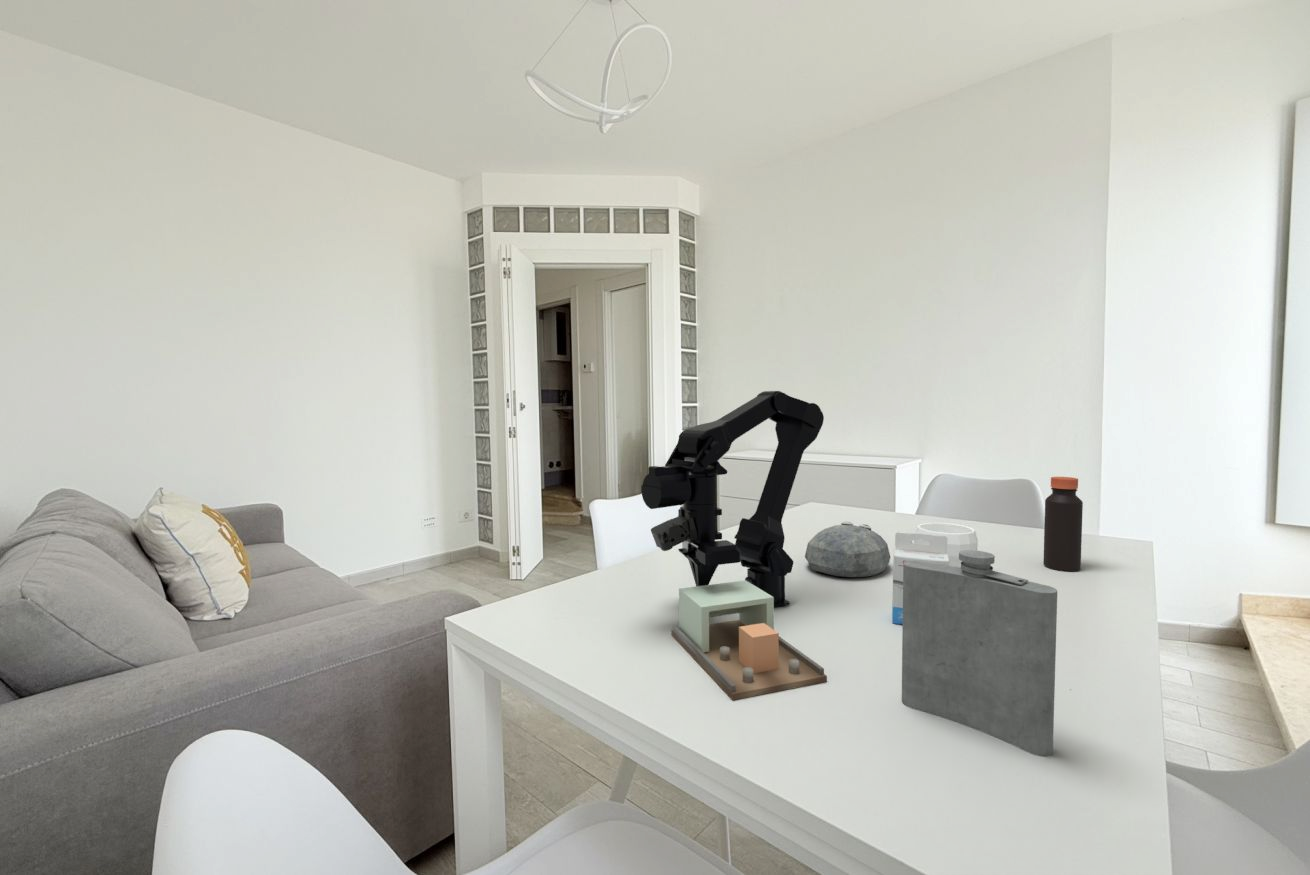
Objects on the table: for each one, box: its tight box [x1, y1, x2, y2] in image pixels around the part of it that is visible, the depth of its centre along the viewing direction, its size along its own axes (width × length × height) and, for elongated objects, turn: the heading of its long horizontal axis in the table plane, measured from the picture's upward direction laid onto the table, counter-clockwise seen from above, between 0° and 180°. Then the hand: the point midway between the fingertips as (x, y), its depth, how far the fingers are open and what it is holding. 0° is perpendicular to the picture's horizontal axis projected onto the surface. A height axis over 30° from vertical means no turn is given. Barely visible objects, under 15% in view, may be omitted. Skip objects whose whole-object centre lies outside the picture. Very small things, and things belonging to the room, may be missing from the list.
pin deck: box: [670, 619, 828, 701], centre depth 85 cm, size 14×22×2 cm, turn 19°
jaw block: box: [739, 623, 780, 673], centre depth 80 cm, size 4×4×5 cm
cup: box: [913, 522, 979, 568], centre depth 125 cm, size 12×12×10 cm
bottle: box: [1042, 476, 1084, 572], centre depth 127 cm, size 7×7×20 cm
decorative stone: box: [804, 521, 891, 578], centre depth 129 cm, size 18×21×10 cm
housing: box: [678, 580, 775, 653], centre depth 90 cm, size 12×9×7 cm
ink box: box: [891, 531, 949, 626], centre depth 97 cm, size 9×5×15 cm, turn 65°
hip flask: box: [901, 550, 1058, 757], centre depth 66 cm, size 16×4×20 cm, turn 43°
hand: (701, 591), depth 99 cm, fingers closed
